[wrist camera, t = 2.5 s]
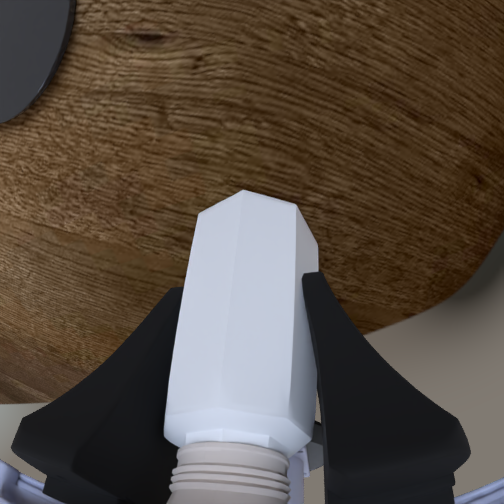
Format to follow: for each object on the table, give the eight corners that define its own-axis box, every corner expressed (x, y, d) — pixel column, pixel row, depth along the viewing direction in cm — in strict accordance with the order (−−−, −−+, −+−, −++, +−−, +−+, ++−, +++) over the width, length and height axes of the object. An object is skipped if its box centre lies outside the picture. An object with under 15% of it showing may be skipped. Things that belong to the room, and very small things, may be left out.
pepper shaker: (204, 298, 15) (155, 533, 6) (176, 196, 12) (41, 483, 3) (318, 291, 15) (342, 541, 6) (315, 182, 12) (387, 520, 3)
